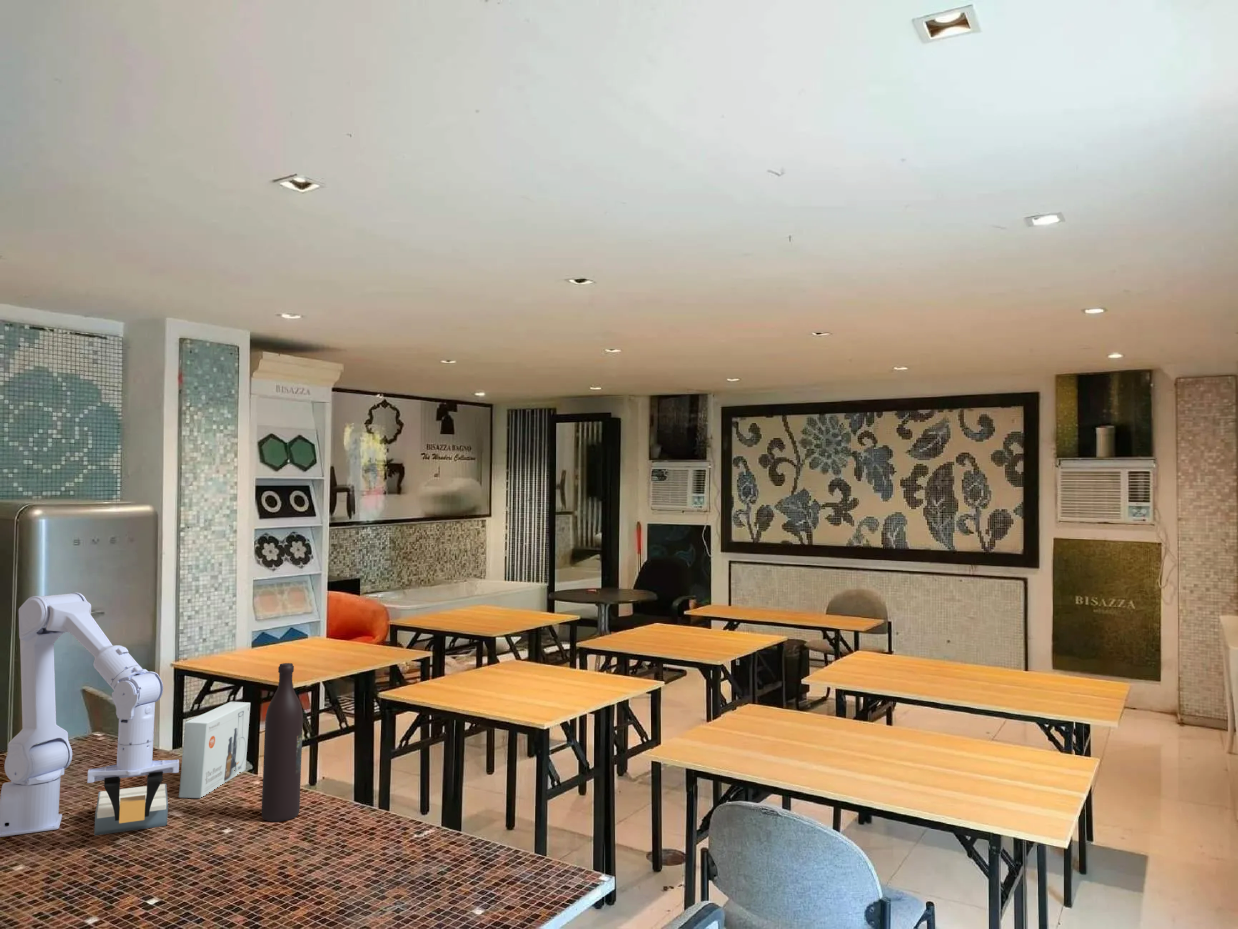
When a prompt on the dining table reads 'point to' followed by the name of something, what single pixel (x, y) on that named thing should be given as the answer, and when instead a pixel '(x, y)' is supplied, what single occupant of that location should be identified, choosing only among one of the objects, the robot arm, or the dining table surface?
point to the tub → (112, 826)
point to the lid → (131, 803)
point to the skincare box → (214, 749)
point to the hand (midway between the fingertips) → (132, 817)
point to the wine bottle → (282, 751)
